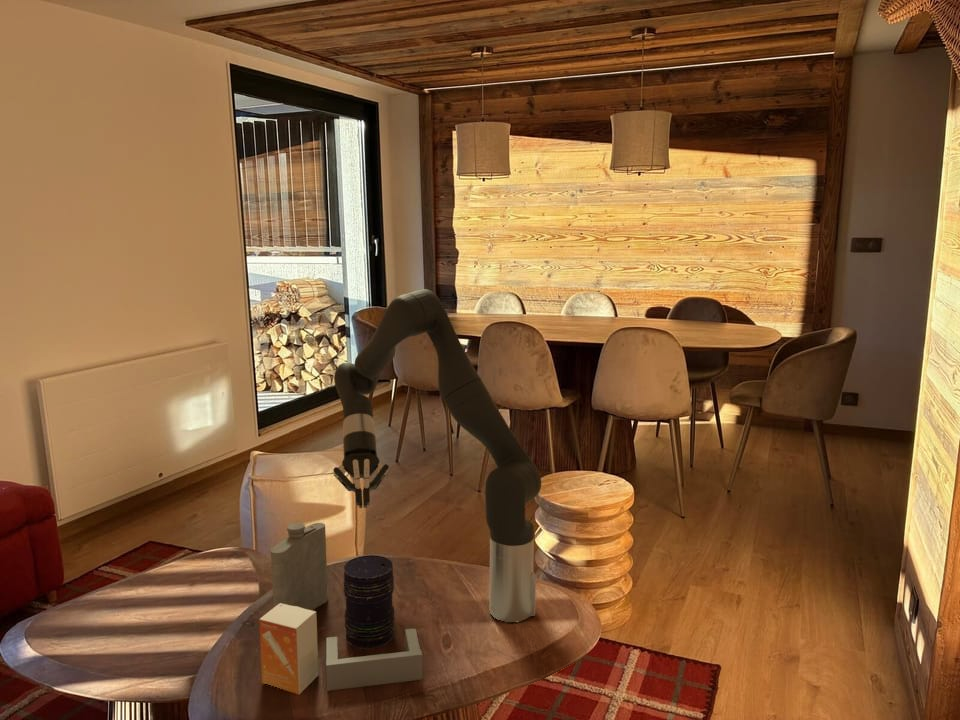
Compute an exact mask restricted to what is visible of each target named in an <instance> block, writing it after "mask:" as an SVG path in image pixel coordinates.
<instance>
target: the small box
mask: <svg viewBox="0 0 960 720" xmlns="http://www.w3.org/2000/svg"><path fill="white" fill-rule="evenodd" d="M258 620H259V621H258V622H259V643H260V647H259V648H260V665H261V666H260V667H261V684H262V683H264V684H268V685H271V686H270V687H272V686H274V687H273V688H275V687H277V688H276V689H279V688H280V689H279V690H282V689H283V691H287V692H289V693H293V694H295V695H300V694H302V692H303V691H304V690H305V689H307V688H308V687H309V685H310V684H311V683H312V682H314V680H315V679H316V678H317V677H318V676H319V653H318V652H319V651H318V650H319V648H318V626H317V625H318V621H317V611H315V610H308V609H304V608H301V607H297V606H291V605H286V604H282V603H280V604H278V605H277V606H275V607H273V608H272V609H270V610H269V611H268V612H267V613H265V614H264V615H263V616H261V617H260V618H259V619H258ZM264 684H263V685H264ZM268 685H267V686H268Z"/></svg>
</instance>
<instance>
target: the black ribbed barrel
mask: <svg viewBox="0 0 960 720" xmlns="http://www.w3.org/2000/svg"><path fill="white" fill-rule="evenodd" d="M393 569H394V563H393V561H392V560H391V559H389V558H388V557H386V556H383V555H376V554H375V555H374V554H371V555H368V554H367V555H361V556H357V557H355V558H351V559H349V561H347V562H346V563H345V564H344V566H343V593H344V594H343V595H344V596H345V610H344V627H345V640H346V641H347V643H348V644H349V645H351V647H354V648H359V649H362V650H363V649H364V650H365V649H367V650H368V649H376V648H379V647H382V646H385V645H386V644H388V643H390V642H391V641H392V640H393V638H394V636H395V630H394V627H395V612H396V611H395V607H394V605H393V593H394V589H395V585H394V584H395V581H394V577H395V576H394V570H393Z"/></svg>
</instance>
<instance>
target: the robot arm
mask: <svg viewBox="0 0 960 720" xmlns="http://www.w3.org/2000/svg"><path fill="white" fill-rule="evenodd" d="M424 333H426V334H427V335H428V337H429V339H430V341H431V343H432V345H433V347H434V349H435V352H436V356H437V364H438V366H437V369H438V370H437V373H438V374H437V382H438V390H439V394H440V397H441V398H442V400H443V402H444V404H445V406H446V407H447V410H448V411H449V413H450V415H451V417H452V418H453V420H454V421H455V422H456V423H457V424H458V425H459V426H460V427H462V428H463V429H464V431H466V432H467V433H469V434H470V436H471V435H472V436H473V437H474V438H475V439H476V440H478V441H479V442H480V443H481V444H482V445H483V447H485V449H486V450H487V451H488V453H489V454H490V456H491V457H492V459H493V461H494V462H495V465H496V468H494V469H493V470H491V471H490V472H489V474H488V475H487V478H486V480H485V486H484V487H485V489H484V490H485V492H484V496H485V519H486V524H487V527H488V529H489V587H488V588H489V590H488V591H489V593H488V595H489V597H488V599H489V600H488V606H489V607H488V608H489V610H488V611H490V612H489V615H490V614H491V615H492V616H493V617H494V618H493V617H492V616H491V615H490V616H491V617H492V618H493V619H495V618H496V619H497V621H499V620H501V621H500V622H502V621H505V622H504V623H507V622H516V621H521V620H524V619H526V618H527V617H529V616H531V615H535V616H536V599H537V598H536V595H537V594H536V587H537V575H536V572H535V571H534V556H535V555H534V545H535V544H534V543H535V542H534V541H535V538H534V537H535V526H534V524H533V522H531V520H529V519H527V518H526V504H527V503H528V502H530V501H531V500H533V499H534V498H536V497H537V496H538V495H539V493H540V491H541V488H542V478H541V475H540V474H541V473H540V472H539V470H538V468H537V466H536V465H535V463H534V462H533V460H532V459H531V457H530V456H529V455H528V453H527V452H526V450H525V449H524V448H523V446H522V445H521V444H520V442H519V441H518V439H517V438H516V436H515V435H514V433H513V432H512V430H511V428H510V427H509V425H508V424H507V422H506V420H505V419H504V417H503V415H502V413H501V412H500V410H499V408H498V407H497V406H496V403H495V402H494V400H493V398H492V396H491V394H490V393H489V390H488V389H487V387H486V385H485V384H484V382H483V380H482V378H481V376H480V375H479V374H478V372H477V370H476V369H475V367H474V365H473V364H472V362H471V359H470V357H469V356H468V354H467V353H466V350H465V349H464V347H463V345H462V343H461V342H460V340H459V337H458V335H457V333H456V331H455V329H454V326H453V324H452V321H451V320H450V318H449V314H448V313H447V311H446V309H445V306H444V305H443V302H442V301H441V299H440V298H439V297H438V296H437V294H436V293H434V291H432V290H430V289H426V288H423V289H417V290H415V291H411V292H408V293H403V294H400V295H398V296H397V297H394V298H393V299H392V300H391V302H390V303H389V305H388V306H387V308H386V310H385V311H384V314H383V316H382V318H381V320H380V322H379V323H378V326H377V328H376V329H375V332H374V333H373V335H372V337H371V339H370V340H369V341H368V342H367V343H366V345H365V346H363V348H362V349H361V351H360V352H359V353H358V354H357V356H356V357H355V360H354V363H351V362H342V363H341V364H339V365H338V366H337V368H336V369H335V372H334V378H333V379H334V381H333V382H334V386H335V389H336V392H337V394H338V397H339V400H340V403H341V406H342V418H343V426H342V440H343V441H342V442H343V458H342V461H341V465H339V466H337V467H336V466H335V467H334V468H333V471H332V472H333V476H334V477H335V479H336V480H337V481H338V482H339V483H340V484H341V485H342V486H343V487H344V488H345V489H346V490H347V491H348V492H354V494H355V505H356V506H357V507H358V508H359V509H363V508H365V509H366V508H368V506H369V505H370V503H371V502H370V501H371V498H370V492H371V491H373V490H374V491H375V490H377V488H378V487H379V486H380V484H381V483H382V481H383V480H384V479H385V477H386V476H387V475H388V472H389V469H390V468H389V464H386V463H385V464H383V463H382V462H380V459H379V457H378V454H377V453H378V452H377V439H376V437H377V434H376V426H375V422H374V409H373V402H372V400H371V398H369V397H368V396H366V395H369V394H372V393H374V392H375V390H376V389H377V386H378V383H379V382H378V381H379V379H380V376H381V374H382V372H384V370H385V369H387V367H388V366H389V365H390V364H391V363H392V361H393V359H394V357H395V356H396V346H397V345H398V344H399V343H401V342H402V341H404V340H406V339H407V338H410V337H416V336H419V335H422V334H424ZM376 470H377V474H376V475H375V477H374V478H373V479H372V481H371V482H370V478H371V477H372V476H373V475H374V473H375V471H376ZM345 473H347V475H349V476H350V477H351V478H352V479H353V482H352V481H351V480H350V478H348V477H347V476H346V475H345ZM361 479H363V489H362V488H361V487H362V485H361ZM496 619H495V620H496Z"/></svg>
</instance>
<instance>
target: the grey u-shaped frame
mask: <svg viewBox="0 0 960 720" xmlns="http://www.w3.org/2000/svg"><path fill="white" fill-rule="evenodd" d="M404 634H405V636H404V640H405V642H404V643H405V644H404V645H405V651H400V652H392V653H390V652H389V653H380V654H379V653H378V654H372V655H371V654H370V655H364V656H354V657H346V658H339V654H338V651H339V649H338V636H330V637H326V652H325V653H326V660H325V666H326V668H325V670H326V691H327V692H328V691H338V690H343V689H353V688H354V689H355V688H361V687H362V688H363V687H368V686H369V687H370V686H378V685H379V686H380V685H385V684H393V683H395V684H397V683H403V682H404V683H405V682H411V681H419V680H423V654H422V653H423V652H422V649H420V648H421V647H420V643H419V639H418V634H417V630H416V628H405V629H404Z"/></svg>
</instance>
